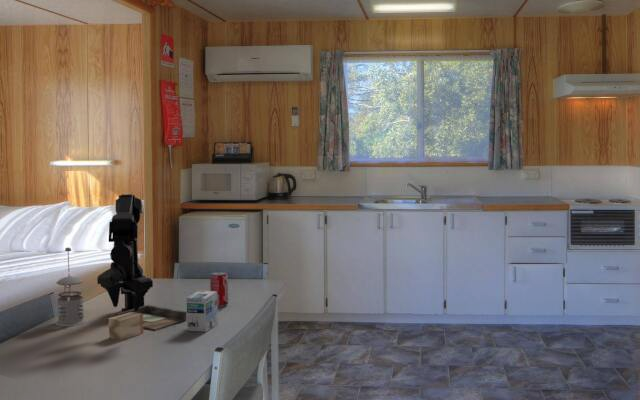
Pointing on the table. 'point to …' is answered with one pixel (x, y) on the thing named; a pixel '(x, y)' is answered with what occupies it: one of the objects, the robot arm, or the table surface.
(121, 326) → the maple block
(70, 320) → the french press
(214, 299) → the light bulb box
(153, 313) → the tray
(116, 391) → the table surface
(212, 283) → the soda can
